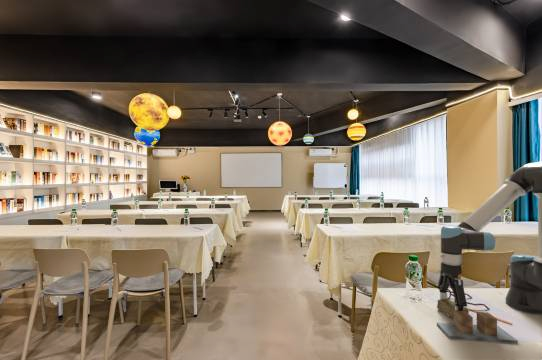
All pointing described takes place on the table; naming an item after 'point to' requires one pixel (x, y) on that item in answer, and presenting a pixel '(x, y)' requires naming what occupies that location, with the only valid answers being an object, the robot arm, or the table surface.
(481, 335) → the bridge base
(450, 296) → the glasses
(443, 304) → the stone block
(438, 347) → the table surface
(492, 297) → the table surface
